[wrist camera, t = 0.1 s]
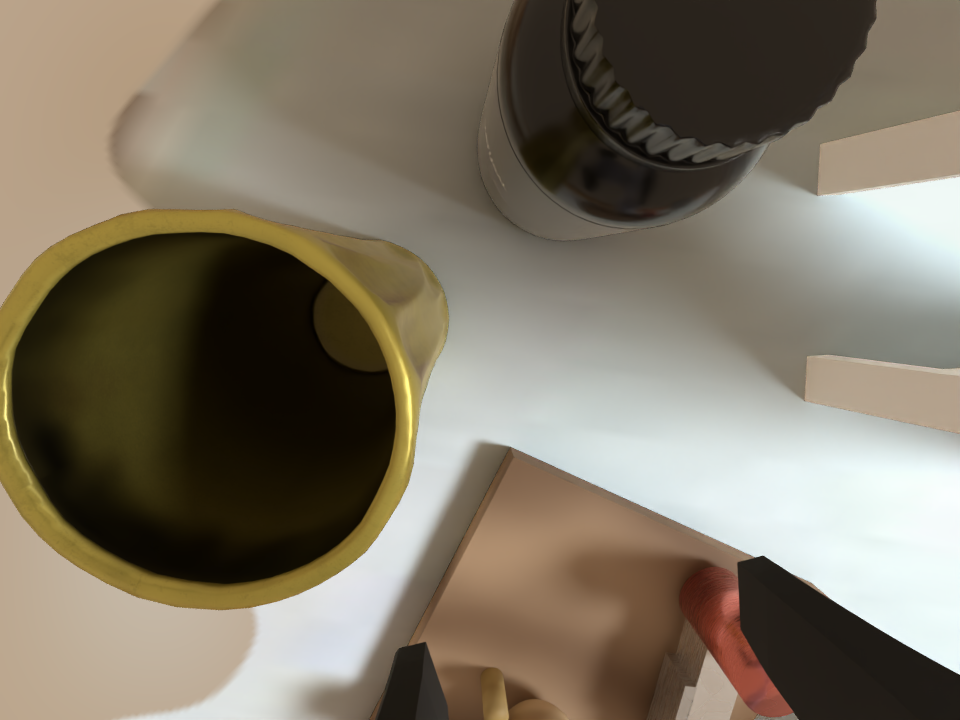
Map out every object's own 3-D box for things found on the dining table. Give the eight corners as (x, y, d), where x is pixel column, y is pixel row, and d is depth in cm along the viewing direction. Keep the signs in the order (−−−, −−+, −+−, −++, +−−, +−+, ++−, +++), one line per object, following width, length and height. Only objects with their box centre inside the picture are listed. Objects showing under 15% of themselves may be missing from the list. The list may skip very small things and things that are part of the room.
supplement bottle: (438, 152, 19) (425, -37, 7) (566, 17, 19) (772, -418, 7) (559, 280, 20) (716, 293, 9) (683, 156, 20) (1031, -11, 8)
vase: (269, 270, 20) (-180, 268, 6) (417, 217, 20) (346, 81, 6) (329, 412, 21) (83, 710, 7) (469, 362, 21) (520, 553, 7)
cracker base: (647, 843, 26) (681, 941, 22) (357, 743, 23) (340, 832, 20) (811, 583, 24) (880, 641, 20) (510, 446, 21) (523, 484, 18)
